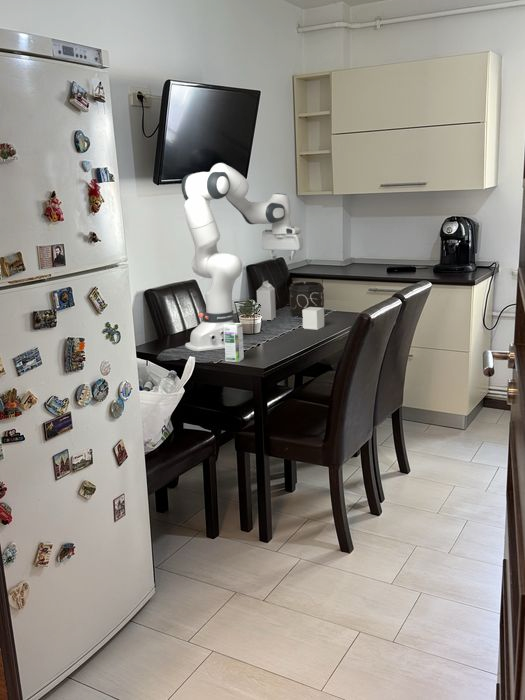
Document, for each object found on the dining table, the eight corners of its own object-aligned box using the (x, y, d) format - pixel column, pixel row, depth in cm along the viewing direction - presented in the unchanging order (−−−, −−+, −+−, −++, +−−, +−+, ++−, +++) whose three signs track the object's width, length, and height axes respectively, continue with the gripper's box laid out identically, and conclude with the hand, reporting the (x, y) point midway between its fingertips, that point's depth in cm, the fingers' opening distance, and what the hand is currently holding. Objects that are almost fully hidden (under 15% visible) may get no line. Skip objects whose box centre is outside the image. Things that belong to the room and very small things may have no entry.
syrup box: (225, 361, 262) (222, 325, 259) (231, 357, 268) (229, 321, 264) (238, 362, 260) (236, 325, 257) (244, 358, 266) (242, 322, 262)
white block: (317, 329, 310) (316, 310, 308) (302, 328, 314) (302, 309, 311) (324, 326, 316) (324, 307, 314) (310, 325, 320) (309, 306, 317)
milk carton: (257, 320, 335) (256, 282, 331) (262, 317, 342) (261, 280, 337) (271, 321, 333) (269, 282, 328) (275, 318, 339) (274, 280, 335)
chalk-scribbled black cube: (314, 319, 333) (313, 287, 329) (283, 316, 342) (282, 285, 338) (331, 312, 347) (331, 282, 343) (301, 310, 357) (300, 280, 353)
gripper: (258, 230, 314) (259, 260, 317) (297, 230, 303) (298, 261, 307) (265, 229, 319) (266, 258, 322) (304, 229, 308) (305, 259, 312)
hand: (282, 259), depth 314 cm, fingers open, 8 cm apart
